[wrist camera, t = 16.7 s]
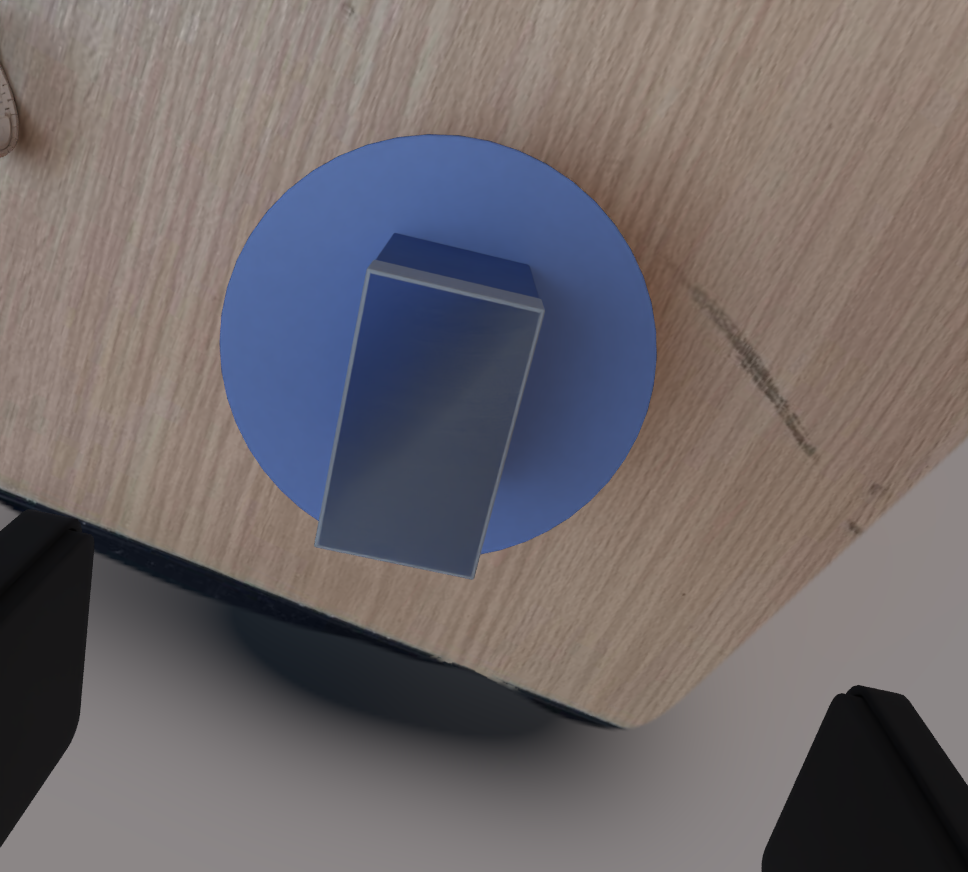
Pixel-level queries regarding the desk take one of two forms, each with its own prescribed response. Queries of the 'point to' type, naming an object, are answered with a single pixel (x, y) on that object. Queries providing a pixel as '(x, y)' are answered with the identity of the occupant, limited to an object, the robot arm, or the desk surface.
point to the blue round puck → (466, 225)
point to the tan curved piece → (7, 117)
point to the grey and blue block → (429, 405)
